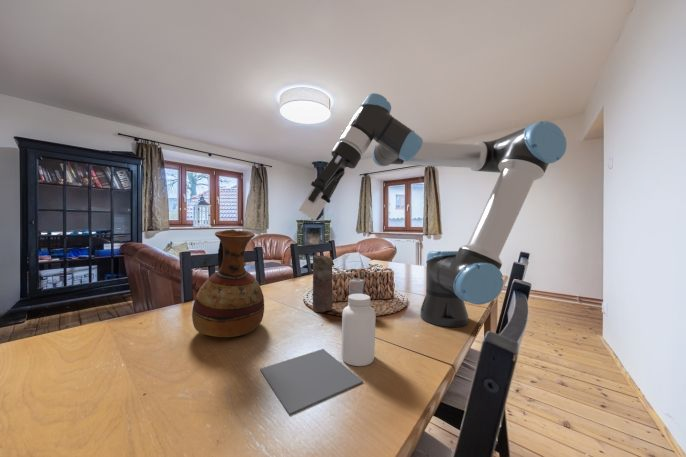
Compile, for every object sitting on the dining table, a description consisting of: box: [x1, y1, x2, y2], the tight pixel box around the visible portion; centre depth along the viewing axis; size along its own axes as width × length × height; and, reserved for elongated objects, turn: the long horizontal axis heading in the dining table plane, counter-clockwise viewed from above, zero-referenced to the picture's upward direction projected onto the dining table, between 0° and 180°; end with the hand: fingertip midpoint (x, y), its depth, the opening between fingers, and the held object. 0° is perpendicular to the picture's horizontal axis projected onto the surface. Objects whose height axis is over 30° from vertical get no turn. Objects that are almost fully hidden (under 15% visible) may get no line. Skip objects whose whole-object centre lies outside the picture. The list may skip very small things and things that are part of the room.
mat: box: [259, 348, 364, 416], centre depth 55 cm, size 16×16×1 cm
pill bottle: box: [340, 293, 377, 367], centre depth 62 cm, size 8×8×15 cm
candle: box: [312, 254, 334, 313], centre depth 96 cm, size 8×7×20 cm
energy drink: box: [348, 278, 365, 296], centre depth 92 cm, size 5×5×12 cm
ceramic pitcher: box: [191, 229, 265, 338], centre depth 78 cm, size 20×20×30 cm
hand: (307, 216), depth 69 cm, fingers open, 13 cm apart
